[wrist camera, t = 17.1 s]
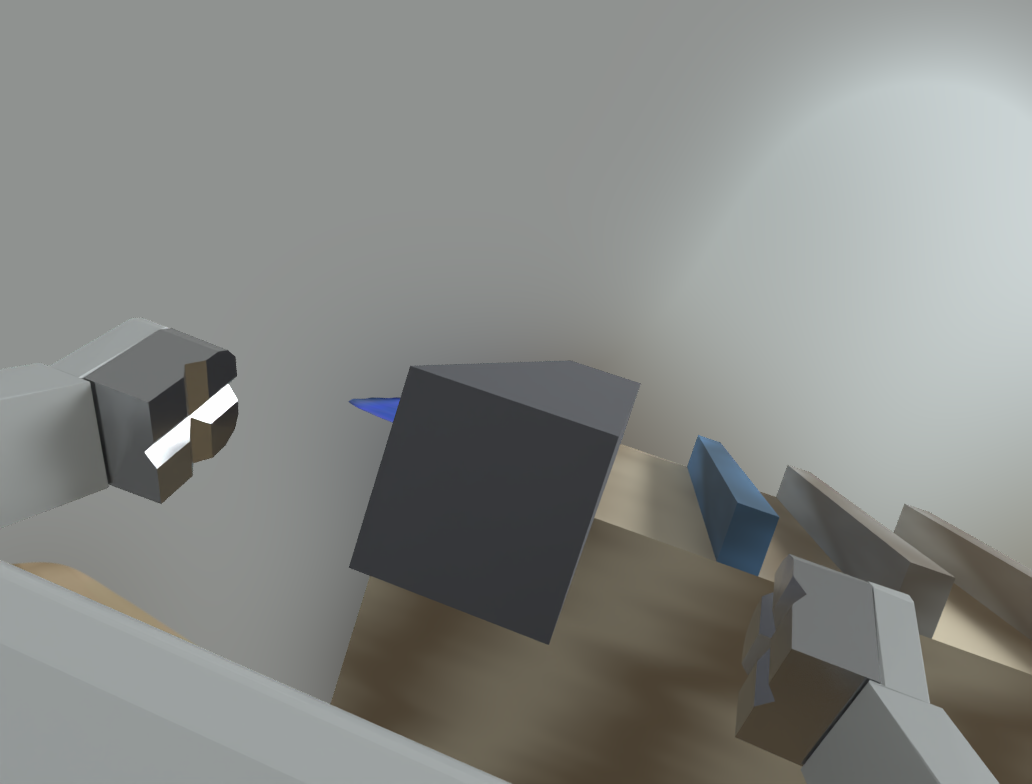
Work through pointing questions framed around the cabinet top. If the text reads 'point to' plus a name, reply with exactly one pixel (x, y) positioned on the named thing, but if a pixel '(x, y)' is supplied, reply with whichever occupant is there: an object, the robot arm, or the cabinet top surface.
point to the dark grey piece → (494, 486)
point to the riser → (687, 635)
